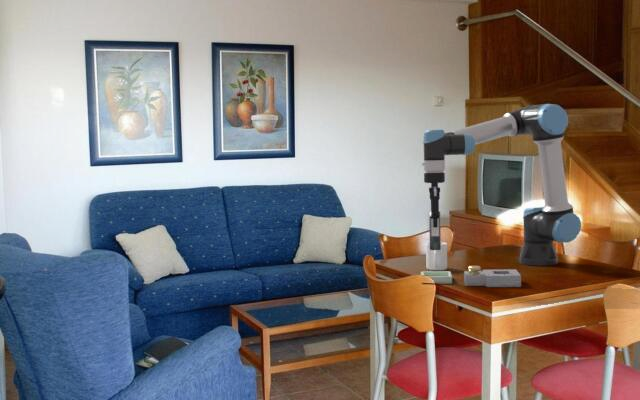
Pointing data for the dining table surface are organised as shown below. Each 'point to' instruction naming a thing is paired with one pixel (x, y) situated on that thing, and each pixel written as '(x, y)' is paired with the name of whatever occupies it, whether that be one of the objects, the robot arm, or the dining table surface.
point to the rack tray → (439, 276)
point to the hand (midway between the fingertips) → (435, 235)
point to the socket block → (493, 278)
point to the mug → (436, 257)
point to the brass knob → (474, 269)
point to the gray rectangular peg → (434, 240)
